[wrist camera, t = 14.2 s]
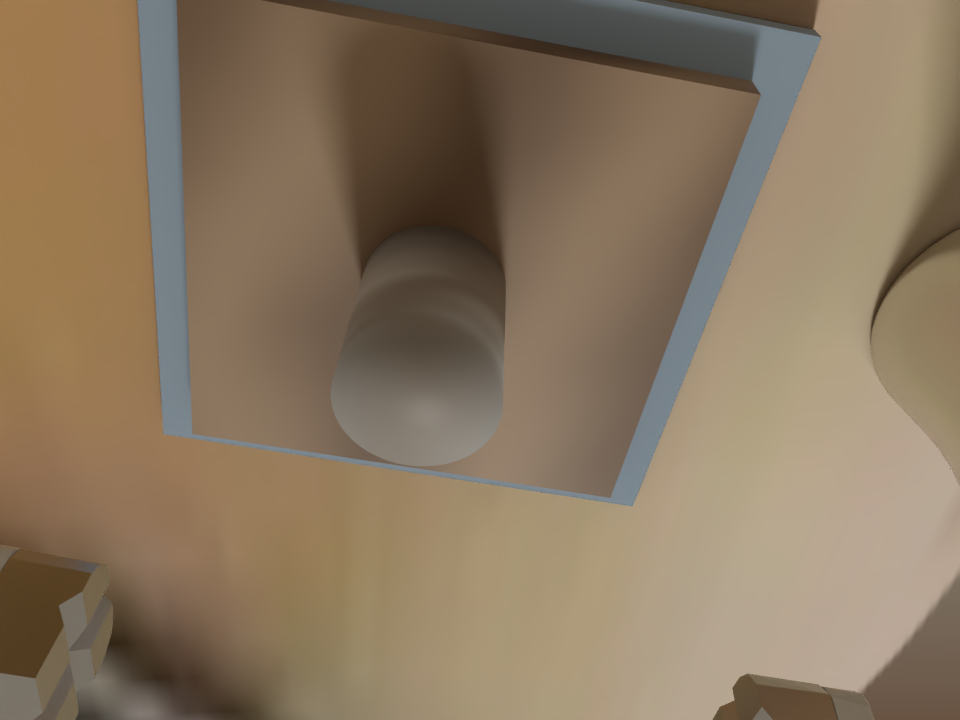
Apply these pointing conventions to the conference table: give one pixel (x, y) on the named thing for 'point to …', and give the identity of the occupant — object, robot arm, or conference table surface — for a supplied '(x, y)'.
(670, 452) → the conference table surface
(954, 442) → the beer glass
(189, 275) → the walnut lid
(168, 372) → the slate mat
